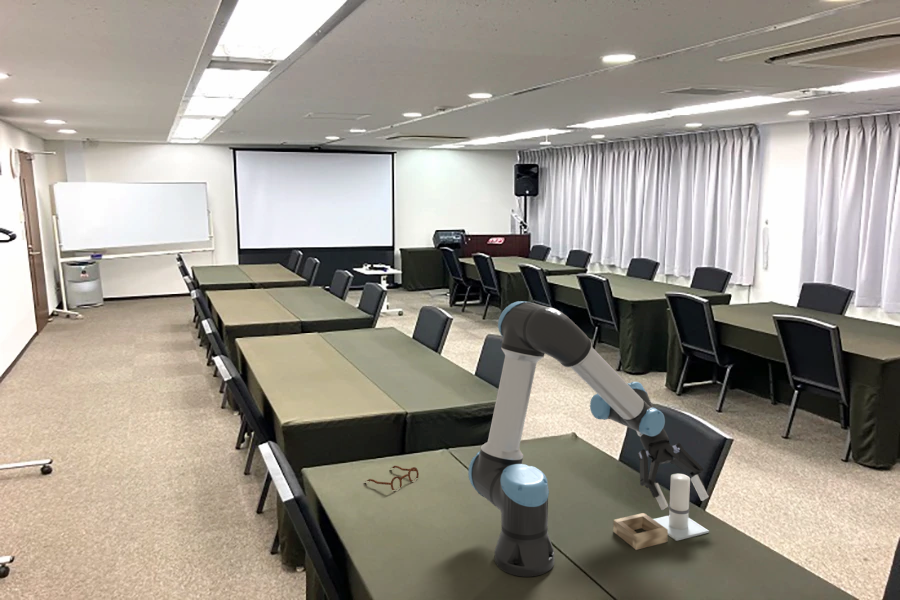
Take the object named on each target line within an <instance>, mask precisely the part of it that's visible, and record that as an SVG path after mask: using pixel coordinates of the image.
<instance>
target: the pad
mask: <svg viewBox="0 0 900 600" xmlns="http://www.w3.org/2000/svg"><path fill="white" fill-rule="evenodd" d="M652 519H653V520H655V521H656V522H658V523H659V524H660V525H662V526H663V527H665V528H666V529H668V537H670V538H671V539H673V540H674V541H677V542H678V541H681V540H684V539H690V538H694V537H696V536H697V537H698V536H701V535H704V534H708V533H709V532H710V530H708V529H707V528H705V527H704V526H702V525H701V524H699V523H698V522H696V521H694V520H693V519H692V518H690V517H688V528H687V529H683V530H679V529H675V528H672V527H671V526H670V525H669V515H664V516H661V517H657V518H652Z"/></svg>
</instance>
